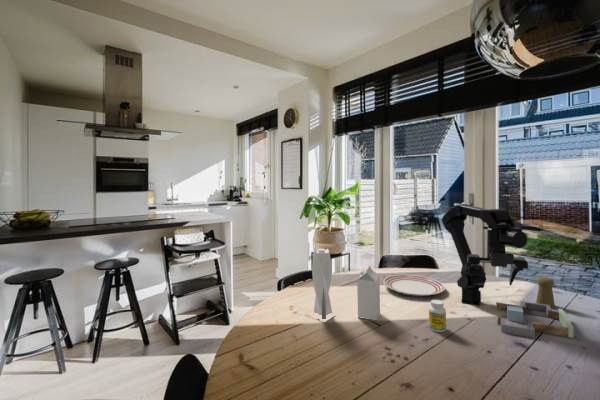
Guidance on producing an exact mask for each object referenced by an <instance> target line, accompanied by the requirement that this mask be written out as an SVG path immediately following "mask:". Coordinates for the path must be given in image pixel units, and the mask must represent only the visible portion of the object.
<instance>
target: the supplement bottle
mask: <svg viewBox="0 0 600 400" xmlns="http://www.w3.org/2000/svg"><path fill="white" fill-rule="evenodd" d="M444 304H445V303H444V302H443V300H439V299H432V300H430V306H429V308H428V315H429V316H428V323H429V325H428V327H429V329H430V330H431V331H433V332H436V333H444V332H446V330H447V310H446V308H444Z"/></svg>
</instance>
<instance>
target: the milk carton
mask: <svg viewBox="0 0 600 400" xmlns="http://www.w3.org/2000/svg"><path fill="white" fill-rule="evenodd" d="M359 275H360V276H359V277H358V278H357V281H356V283H357V285H356V286H357V288H356V289H357V290H356V291H357V317H358V316H359V317H364V318H369V319H373V320H372V321H374V320H377V321H378V319H379V317H380V315H381V298H380V296H381V288H380V284H381V283H380V282H381V281H380V278H381V277H380V275H379V274H378V273H377V272H376V271H374V270H373V268H372V267H371V265H368V267H367V268H366V269H362V270H361V271H360V272H359ZM379 314H380V315H379ZM378 316H379V317H378Z"/></svg>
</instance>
